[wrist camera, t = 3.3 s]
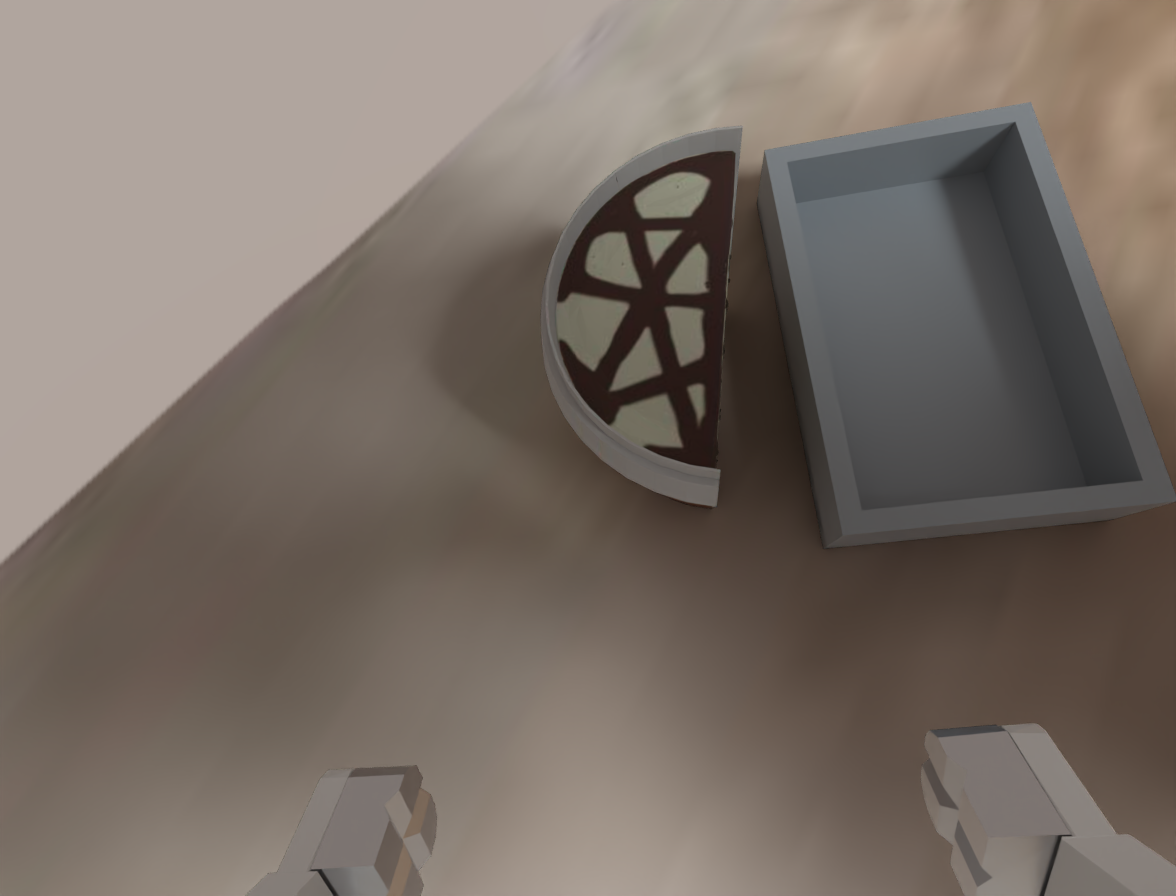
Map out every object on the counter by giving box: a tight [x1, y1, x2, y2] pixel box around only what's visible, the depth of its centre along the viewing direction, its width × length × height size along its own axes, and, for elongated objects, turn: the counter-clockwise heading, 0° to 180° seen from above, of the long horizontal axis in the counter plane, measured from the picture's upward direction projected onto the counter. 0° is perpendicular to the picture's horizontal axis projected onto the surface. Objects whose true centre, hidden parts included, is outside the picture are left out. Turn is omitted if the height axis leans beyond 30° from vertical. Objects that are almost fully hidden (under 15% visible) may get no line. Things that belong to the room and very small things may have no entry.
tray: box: [757, 102, 1176, 549], centre depth 25 cm, size 11×17×4 cm, turn 5°
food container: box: [541, 126, 743, 509], centre depth 24 cm, size 12×6×10 cm, turn 173°
